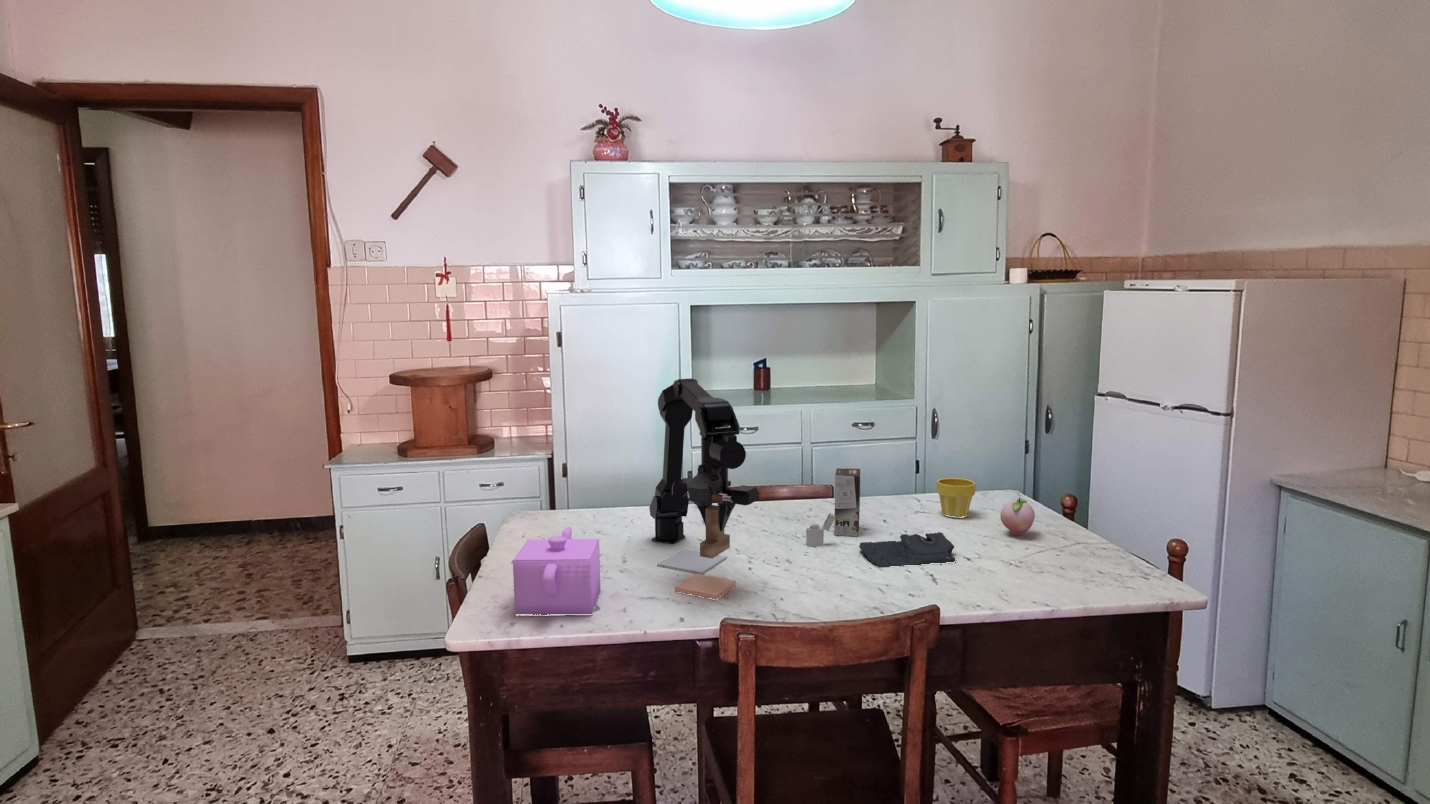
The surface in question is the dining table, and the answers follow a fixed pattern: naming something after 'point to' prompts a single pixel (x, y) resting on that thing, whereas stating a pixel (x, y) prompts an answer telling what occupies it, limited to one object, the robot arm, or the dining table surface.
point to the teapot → (557, 575)
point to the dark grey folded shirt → (909, 550)
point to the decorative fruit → (1017, 516)
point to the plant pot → (955, 495)
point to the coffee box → (847, 502)
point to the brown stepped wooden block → (714, 534)
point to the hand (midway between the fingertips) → (715, 529)
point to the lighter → (818, 532)
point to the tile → (705, 586)
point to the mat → (691, 561)
